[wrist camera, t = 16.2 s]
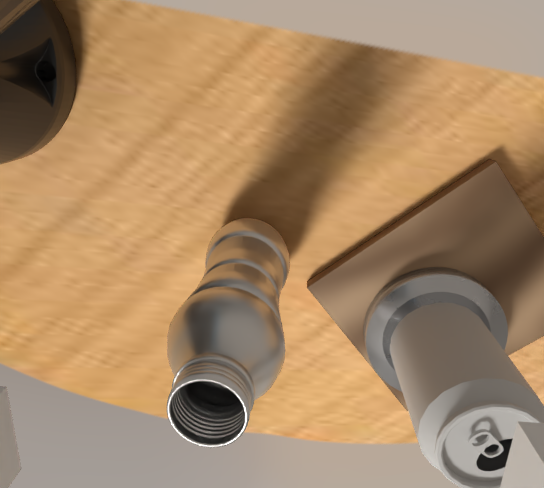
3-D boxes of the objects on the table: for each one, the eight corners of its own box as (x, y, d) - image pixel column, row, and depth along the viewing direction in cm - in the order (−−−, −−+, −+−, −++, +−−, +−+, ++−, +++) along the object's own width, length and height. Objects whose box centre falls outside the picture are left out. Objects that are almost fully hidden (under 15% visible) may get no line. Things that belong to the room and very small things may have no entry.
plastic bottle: (271, 199, 38) (243, 325, 19) (302, 272, 40) (305, 452, 21) (198, 227, 39) (104, 373, 20) (232, 297, 41) (175, 489, 22)
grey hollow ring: (337, 315, 39) (338, 326, 38) (454, 240, 37) (461, 249, 35) (409, 404, 42) (413, 418, 40) (523, 341, 39) (533, 353, 38)
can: (427, 395, 39) (478, 524, 28) (368, 337, 38) (397, 449, 27) (503, 342, 37) (591, 458, 26) (444, 278, 36) (510, 372, 25)
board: (307, 281, 40) (307, 287, 39) (489, 158, 36) (496, 161, 35) (404, 402, 43) (407, 411, 42) (581, 303, 39) (589, 310, 38)
